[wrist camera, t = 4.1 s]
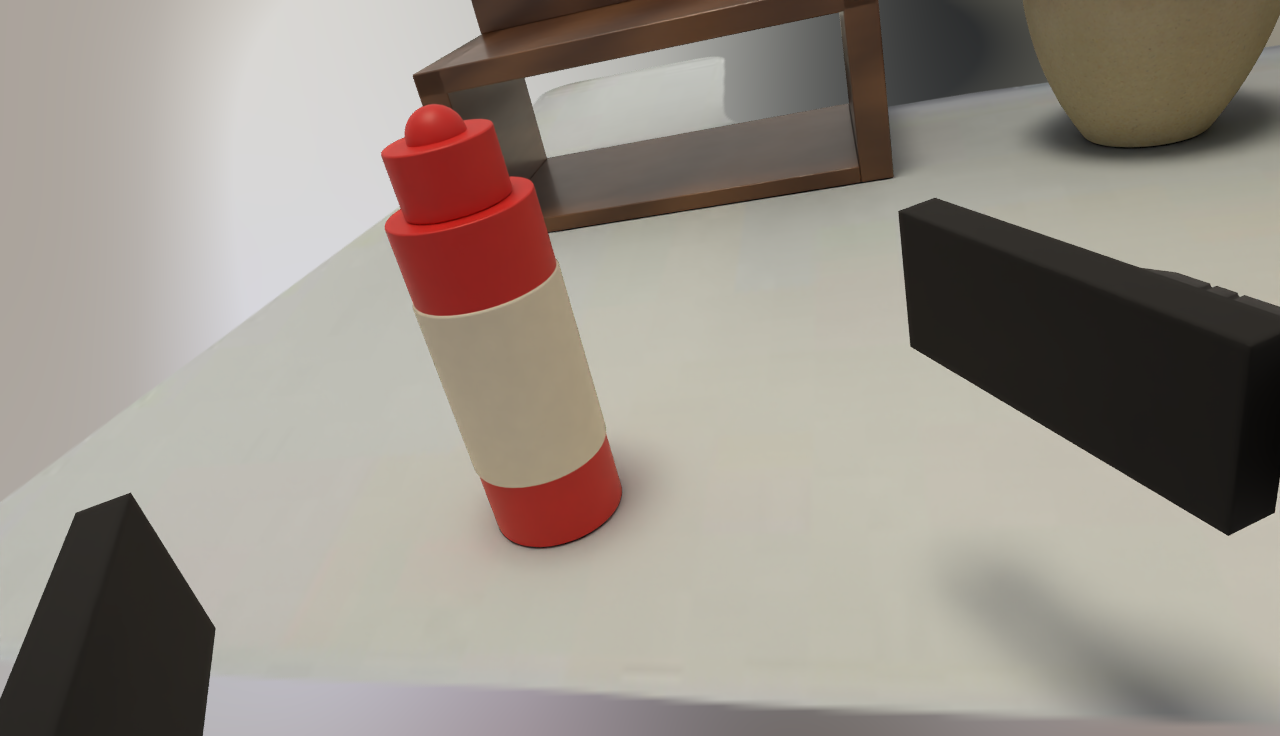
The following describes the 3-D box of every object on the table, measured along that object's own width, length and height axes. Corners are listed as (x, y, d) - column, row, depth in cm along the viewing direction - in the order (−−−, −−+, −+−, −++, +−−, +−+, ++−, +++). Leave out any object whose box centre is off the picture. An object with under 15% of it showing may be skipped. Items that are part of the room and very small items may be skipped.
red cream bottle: (479, 553, 24) (313, 144, 18) (517, 469, 27) (386, 100, 21) (610, 544, 23) (475, 111, 17) (633, 459, 26) (526, 71, 21)
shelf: (468, 245, 47) (389, 10, 41) (528, 173, 57) (471, -23, 52) (893, 177, 42) (869, -104, 36) (876, 111, 52) (855, -115, 46)
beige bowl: (1044, 104, 46) (1044, -43, 42) (1280, 88, 40) (1301, -83, 37) (1002, 173, 39) (997, 3, 36) (1279, 164, 33) (1305, -38, 30)
